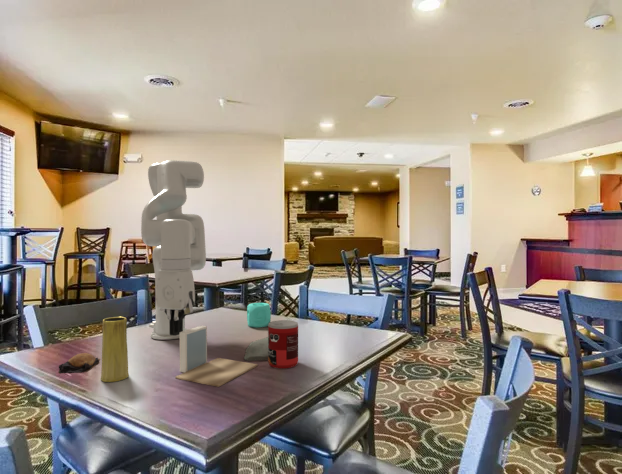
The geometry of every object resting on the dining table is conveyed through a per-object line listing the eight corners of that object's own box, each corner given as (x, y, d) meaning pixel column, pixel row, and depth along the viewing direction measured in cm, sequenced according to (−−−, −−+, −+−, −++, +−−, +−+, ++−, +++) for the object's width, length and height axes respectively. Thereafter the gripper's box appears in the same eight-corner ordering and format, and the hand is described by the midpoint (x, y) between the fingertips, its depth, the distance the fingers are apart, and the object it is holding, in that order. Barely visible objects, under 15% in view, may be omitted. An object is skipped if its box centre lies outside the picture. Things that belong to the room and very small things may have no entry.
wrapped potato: (70, 363, 109) (70, 349, 109) (103, 361, 110) (103, 347, 110) (52, 376, 98) (52, 361, 98) (89, 374, 100) (89, 359, 100)
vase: (110, 384, 91) (109, 322, 91) (95, 379, 95) (95, 319, 95) (134, 376, 97) (133, 318, 96) (119, 371, 100) (119, 315, 100)
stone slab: (244, 367, 108) (280, 361, 109) (242, 357, 108) (278, 351, 109) (248, 345, 130) (278, 340, 131) (247, 337, 130) (277, 332, 131)
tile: (179, 371, 100) (179, 332, 100) (201, 362, 107) (200, 325, 107) (186, 372, 99) (186, 333, 99) (207, 363, 106) (207, 326, 106)
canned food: (268, 360, 109) (268, 320, 109) (297, 359, 110) (297, 319, 110) (267, 369, 101) (267, 326, 101) (299, 368, 102) (298, 326, 102)
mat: (175, 378, 95) (175, 376, 95) (218, 359, 110) (218, 357, 110) (218, 386, 90) (218, 385, 90) (257, 365, 104) (257, 364, 104)
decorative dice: (267, 322, 156) (267, 302, 156) (270, 326, 148) (270, 305, 148) (247, 323, 154) (246, 303, 154) (249, 328, 146) (249, 306, 146)
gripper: (144, 265, 105) (144, 334, 105) (187, 267, 99) (187, 340, 99) (165, 264, 112) (166, 328, 112) (207, 265, 106) (207, 334, 106)
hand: (176, 334), depth 105 cm, fingers closed
